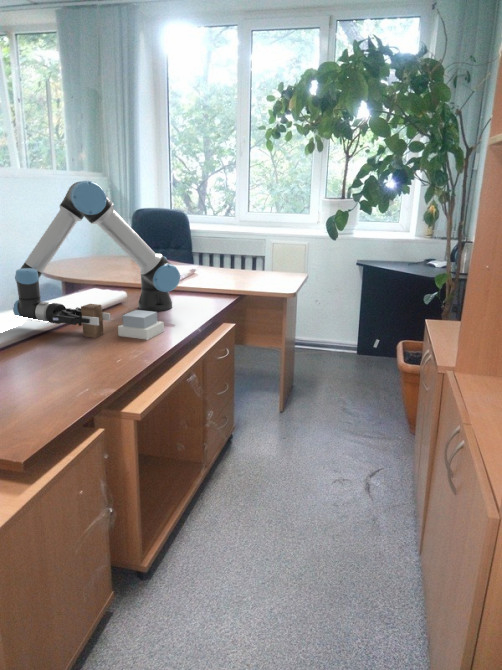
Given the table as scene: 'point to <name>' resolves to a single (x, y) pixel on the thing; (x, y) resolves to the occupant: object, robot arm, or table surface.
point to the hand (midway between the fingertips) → (104, 319)
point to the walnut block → (92, 311)
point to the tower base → (141, 331)
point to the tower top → (139, 319)
